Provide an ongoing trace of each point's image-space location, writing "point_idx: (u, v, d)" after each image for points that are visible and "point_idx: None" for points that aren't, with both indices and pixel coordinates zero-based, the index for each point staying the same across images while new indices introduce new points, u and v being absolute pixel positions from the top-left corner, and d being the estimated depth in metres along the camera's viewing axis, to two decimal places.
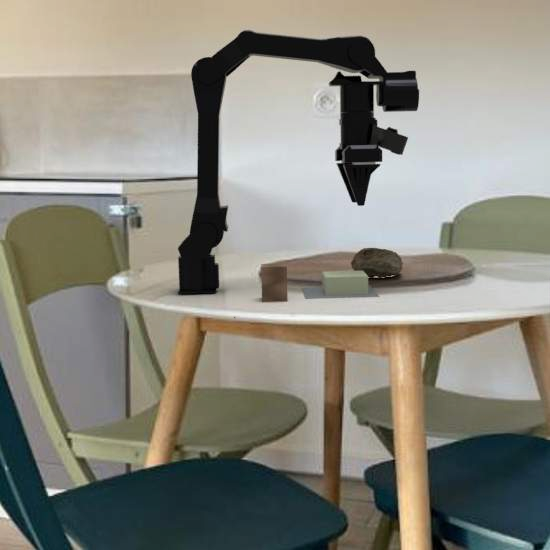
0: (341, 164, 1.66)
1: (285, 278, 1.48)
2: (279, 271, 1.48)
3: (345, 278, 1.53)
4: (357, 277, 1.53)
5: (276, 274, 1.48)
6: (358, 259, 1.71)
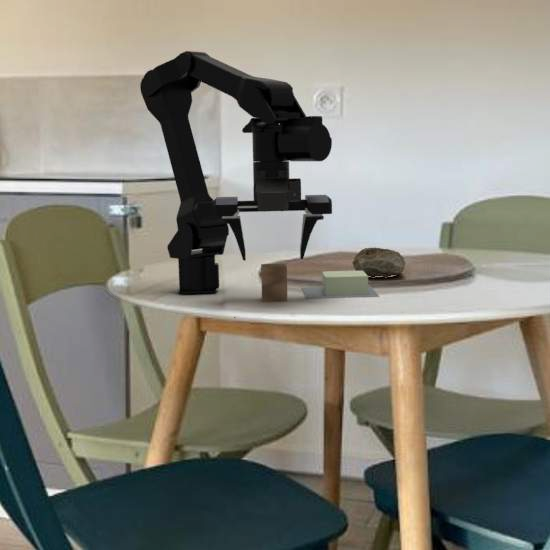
0: (303, 215, 1.51)
1: (285, 278, 1.48)
2: (279, 271, 1.48)
3: (345, 278, 1.53)
4: (357, 277, 1.53)
5: (276, 274, 1.48)
6: (361, 259, 1.71)
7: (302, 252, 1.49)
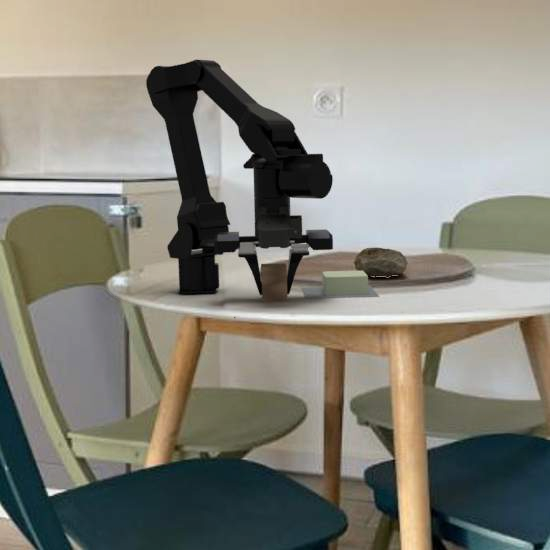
0: (289, 250, 1.52)
1: (285, 278, 1.48)
2: (279, 271, 1.48)
3: (345, 278, 1.53)
4: (357, 277, 1.53)
5: (276, 273, 1.48)
6: (363, 259, 1.71)
7: (288, 287, 1.49)
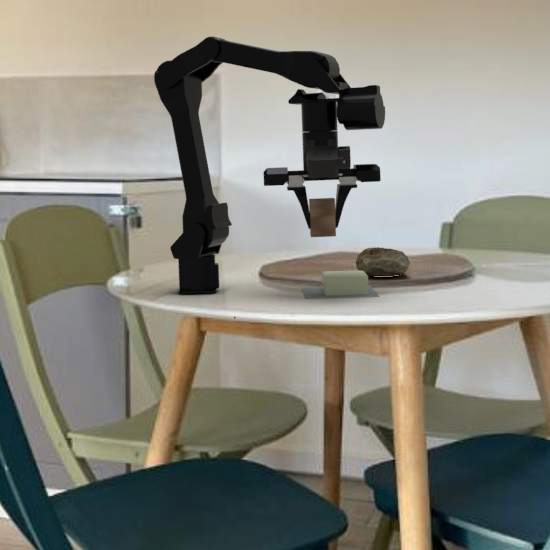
0: (337, 185, 1.54)
1: (333, 210, 1.50)
2: (328, 203, 1.50)
3: (345, 278, 1.53)
4: (357, 277, 1.53)
5: (324, 206, 1.50)
6: (365, 259, 1.71)
7: (336, 220, 1.52)
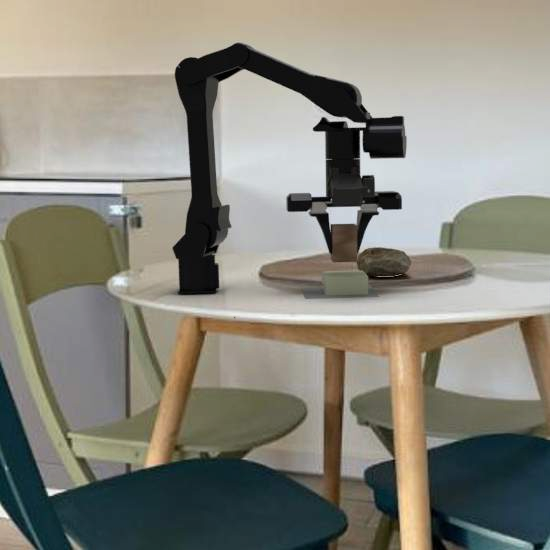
0: None
1: (355, 237, 1.53)
2: (350, 230, 1.53)
3: (345, 278, 1.53)
4: (357, 277, 1.53)
5: (347, 232, 1.53)
6: (366, 259, 1.71)
7: (357, 246, 1.55)
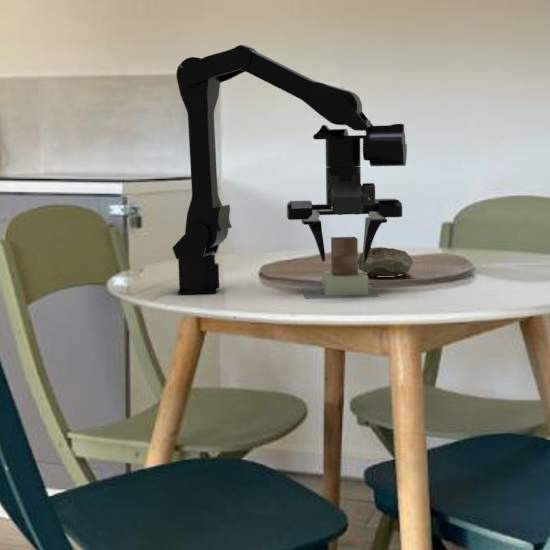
0: (365, 219, 1.57)
1: (356, 250, 1.54)
2: (350, 243, 1.54)
3: (345, 278, 1.53)
4: (357, 277, 1.53)
5: (347, 246, 1.54)
6: (368, 259, 1.71)
7: (366, 254, 1.55)
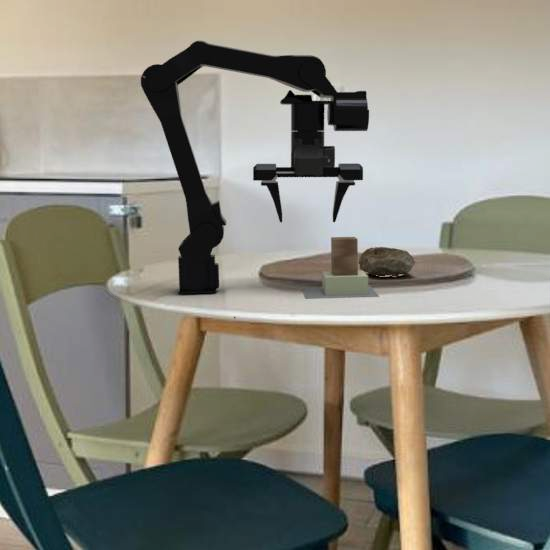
0: (336, 182, 1.64)
1: (356, 250, 1.54)
2: (350, 243, 1.54)
3: (345, 278, 1.53)
4: (357, 277, 1.53)
5: (347, 246, 1.54)
6: (370, 258, 1.71)
7: (334, 215, 1.61)
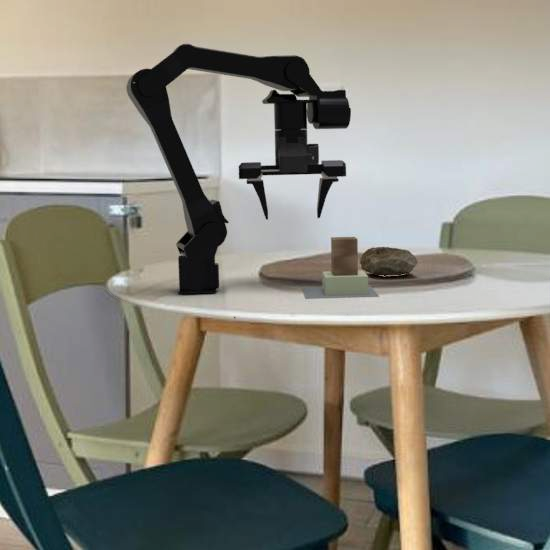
0: None
1: (356, 250, 1.54)
2: (350, 243, 1.54)
3: (345, 278, 1.53)
4: (357, 277, 1.53)
5: (347, 246, 1.54)
6: (373, 258, 1.71)
7: (319, 211, 1.65)
